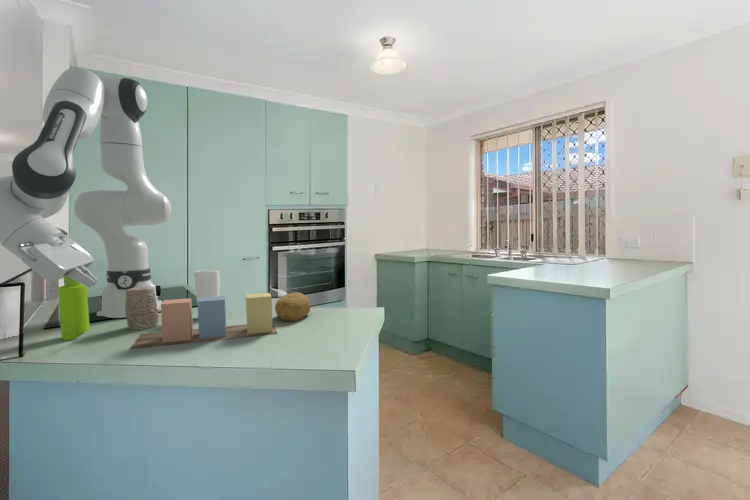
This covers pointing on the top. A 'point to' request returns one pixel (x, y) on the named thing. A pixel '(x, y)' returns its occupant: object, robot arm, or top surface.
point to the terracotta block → (176, 320)
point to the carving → (141, 308)
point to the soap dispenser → (73, 309)
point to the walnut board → (196, 337)
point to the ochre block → (259, 313)
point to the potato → (292, 307)
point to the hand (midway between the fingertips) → (94, 284)
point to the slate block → (211, 317)
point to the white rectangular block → (207, 283)
